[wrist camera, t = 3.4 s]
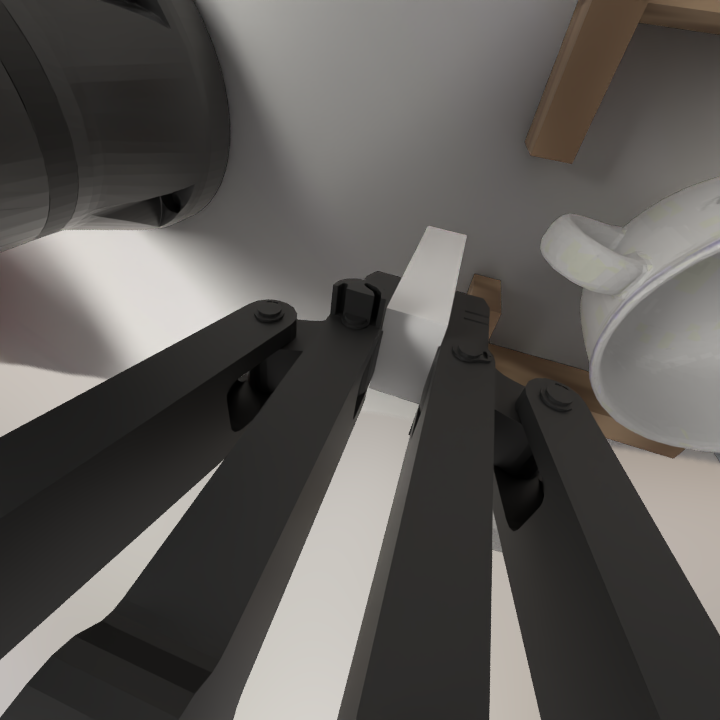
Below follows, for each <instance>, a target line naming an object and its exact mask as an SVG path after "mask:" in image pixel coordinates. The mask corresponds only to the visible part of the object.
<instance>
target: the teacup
mask: <svg viewBox="0 0 720 720" xmlns="http://www.w3.org/2000/svg"><path fill="white" fill-rule="evenodd" d="M540 250H541V253H542V255H543V257H544V258H545V260H546V261H547V262H548V263H549V264H550V265H551V266H552V267H553V269H555V270H556V271H557V272H559V273H560V274H561V275H563V276H564V277H566V278H567V279H568V280H570V281H572V282H573V283H575V284H577V285H579V286H581V287H583V290H582V296H581V304H580V317H581V326H582V332H583V339H584V343H585V347H586V352H587V356H588V360H589V379H590V383H591V387H592V389H593V391H594V394H595V396H596V398H597V400H598V402H599V403H600V405H601V406H602V407H603V408H604V409H605V410H606V411H607V412H608V413H609V415H610V416H611V417H612V418H613V419H614V420H615V421H616V422H618V423H619V424H621V425H623V426H624V427H626V428H627V429H629V430H631V431H633V432H635V433H637V434H639V435H641V436H643V437H645V438H647V439H650V440H653V441H656V442H660V443H663V444H667V445H670V446H675V447H680V448H685V449H691V450H697V451H705V452H718V453H720V177H716V178H713V179H709V180H706V181H703V182H701V183H698V184H695V185H693V186H690V187H687V188H685V189H683V190H681V191H679V192H676V193H674V194H672V195H670V196H668V197H666V198H664V199H662V200H661V201H659V202H658V203H656V204H654V205H653V206H651V207H649V208H648V209H647V210H645V211H644V212H642V213H641V214H639V215H638V216H637V217H635V218H634V219H633V220H631V221H630V222H629V223H628V224H627V225H626V226H624V227H620V226H616V225H609V224H606V223H603V222H600V221H597V220H594V219H591V218H588V217H584V216H581V215H576V214H564V215H562V216H561V217H559V218H558V219H556V220H555V221H554V222H553V223H552V224H551V225H550V227H549V228H548V230H547V231H546V233H545V234H544V236H543V237H542V240H541V243H540Z"/></svg>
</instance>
